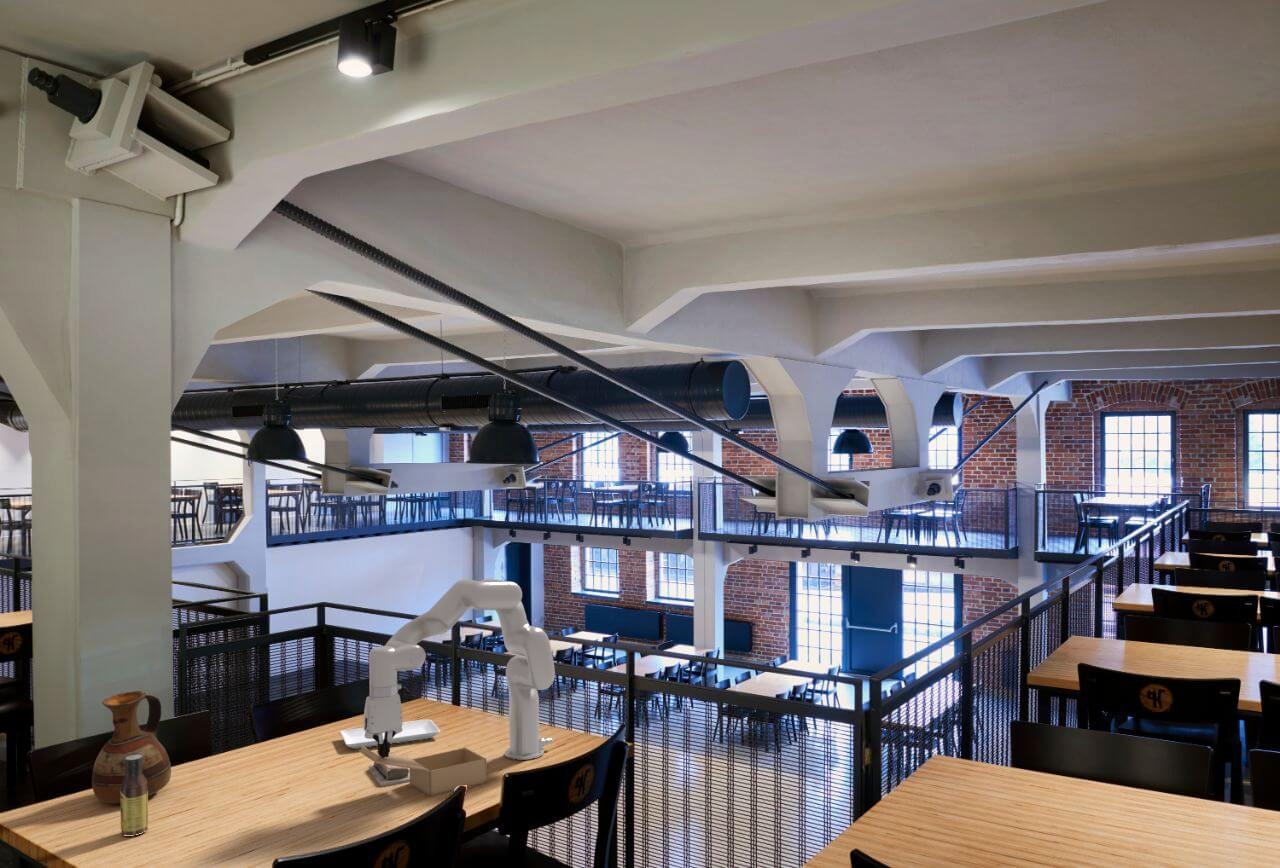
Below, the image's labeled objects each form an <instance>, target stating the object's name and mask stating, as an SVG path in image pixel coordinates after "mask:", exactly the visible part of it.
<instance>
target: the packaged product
mask: <svg viewBox="0 0 1280 868" xmlns="http://www.w3.org/2000/svg"><path fill="white" fill-rule="evenodd" d="M389 754H390V755H396V756H398V755H397V754H395V753H391V752H390V753H389ZM368 771H370V774H371V775H372V777H373V778H374V779H375V781H376V782H377V783H378V784H379V786H381V787H388V786H389V787H390V786H395V785H399V784H405V783H410V768H405V767H399V766H392V765H385V764H378V763H375V762H374V761H373V765H369V766H368Z"/></svg>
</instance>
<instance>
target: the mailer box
mask: <svg viewBox="0 0 1280 868" xmlns="http://www.w3.org/2000/svg"><path fill="white" fill-rule="evenodd" d="M410 759H411V760H413V761H414V762H416V763H418V764H419V765H421V766H422V767H424V768H426V769H427V770H419V769H412V768H409V773H410V782H409V784H410V785H412V786H413V787H414V788H416V789H418V790H419V791H421V792H422V793H423V794H425V795H427V796H428V797H429V798H430V797H434V796H438V795H442V794H445V793H450V792H453V790H454V789H455V788H456V787H457V786H459V785H467V788H470V786H471V787H474V786H478V785H482V784H486V783H487V779H488V778H487V758H485V757H484V756H482V755H480V754H478V753H476V752H474V751H472V750H471V749H469V748H467V747H461V748H456V749H451V750H447V751H442V752H438V753H433V754H429V755H424V756H420V757H415V758H410Z"/></svg>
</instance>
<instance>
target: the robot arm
mask: <svg viewBox="0 0 1280 868" xmlns="http://www.w3.org/2000/svg"><path fill="white" fill-rule="evenodd" d="M522 598H523V591H522V588H521V587H520V585H518V583H516V582H514V581H508V580H502V579H495V578H494V579H493V578H485V579H484V578H483V579H482V580H473V579H460V580H458V581H457V582H455V583H453V585H452V586H451V587H450V588H449V589H448V590H447V591H446V592H445V593H444V594H443V595H442V597H441V598H439V599H438V601H436V603H435V604H433V606H432V607H431V608H430V609H429V610H428V611H426V612H425V613H423V614H421V615H419V616H417V617H415V618H414V619H411V621H409V622H407V623H405V624H404V625H403V626H402V627H400V628H399V629H398V630H397V631H396V632H395V633H394V634H393V635H392V636H391V637H390V638H389V639H388V641H387V642H386V643H385V645H384V646H376V647H373V648H372V649H370V651H369V654H368V655H369V656H368V657H369V660H368V661H369V664H368V665H369V666H368V667H369V672H368V673H369V695H368V696H366V699H365V704H364V710H363V711H364V713H363V728H364V730H365V731H366V732H365V738H367V739H374V740H376V741H377V742H378V746H377V753H378V754H379V756H381V757H382V758H385V757H389V753H391V745H390V742H391V741H392V738H393V737H394V736H395V734H398V733H400V732H402V723H403V722H404V721H403V709H402V702H401V697H400V694H399V693H398V692H399V690H401V689H402V687H403V686H402V684H401V683H398V672H399V671H401V672H403V671H413V670H418V669H419V668H420V667H422V666H423V665H424V663H425V661H426V657H427V656H426V655H427V654H426V651H425V649H424V648H423V647H422V646H420V645H419V644H418V643H420V642H421V641H423V640H425V639H428V638H430V637H433V636H438V635H442V634H444V633H447V632H449V631H450V630H451V629H452V628H453V626H455V625H456V623H458V621H459V620H460V619H461V618H462V617H463V616H464V615H465V614H466V612H467V611H468V610H470V609H471V610H476V611H477V610H478V611H495V613H496V614H497V617H498V619H499V623H500V629H501V633H502V637H503V642H504V647H505V649H506V650H507V652H509V653H511V654H514V655H515V656H513V657H511V658H510V659H509V661H508V662H507V664H506V666H505V677H506V682H507V683H506V684H507V687H508V702H509V703H508V705H509V706H508V712H509V713H508V714H509V715H508V716H509V719H508V720H509V723H508V724H509V734H508V735H509V747H508V748H506V749H505V750H504V756H505V757H506V758H508V759H510V758H511V760H515V759H517V761H518V760H519V761H524V760H534V759H537V758H539V757H542V756H543V755H544V754H545V749H544V748H543V747H545V746H546V745H551V744H553V739H552V737H547V738H545V737H540V722H539V721H540V717H539V716H540V713H539V712H540V711H539V710H540V708H539V707H540V706H539V705H540V703H539V702H540V697H539V692H538V691H543V690H544V691H545V690H547V689H549V688H550V687H551V686H552V685H553V683H554V680H555V677H556V671H555V664H554V657H553V653H552V647H551V643H550V638H549V637H548V634H547V633H546V632H545V630H543V629H542V628H540V627H538V626H533V625H532V626H531V625H530V624H529V621H528V619H527V614H526V611H525V608H524V604H523V602H522ZM384 732H385V734H384V740H383V734H382V733H384ZM533 758H534V759H533Z"/></svg>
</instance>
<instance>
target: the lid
mask: <svg viewBox="0 0 1280 868" xmlns="http://www.w3.org/2000/svg"><path fill="white" fill-rule="evenodd" d="M358 752H359V753H360V754H362V755H364V756H365V757H366V758H368V759H370V760H371V761H372V762H373V763H374V762H375V763H378V764H385V765H392V766H399V767H405V768H408V769H410V768H412V769H419V770H427V769H426V768H424V767H422V766H421V765H419V764H418V763H416V762H414V761H413V760H411V759H412V758H409V757H408V756H402V755H397V754H396V755H397V756H396V755H390V754H389V757H385V758H382V757H381V756H379V754H378V751H377V752H376V751H372V750H370V749H369V748H366V747H364V746H362V745H361V749H358Z"/></svg>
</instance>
